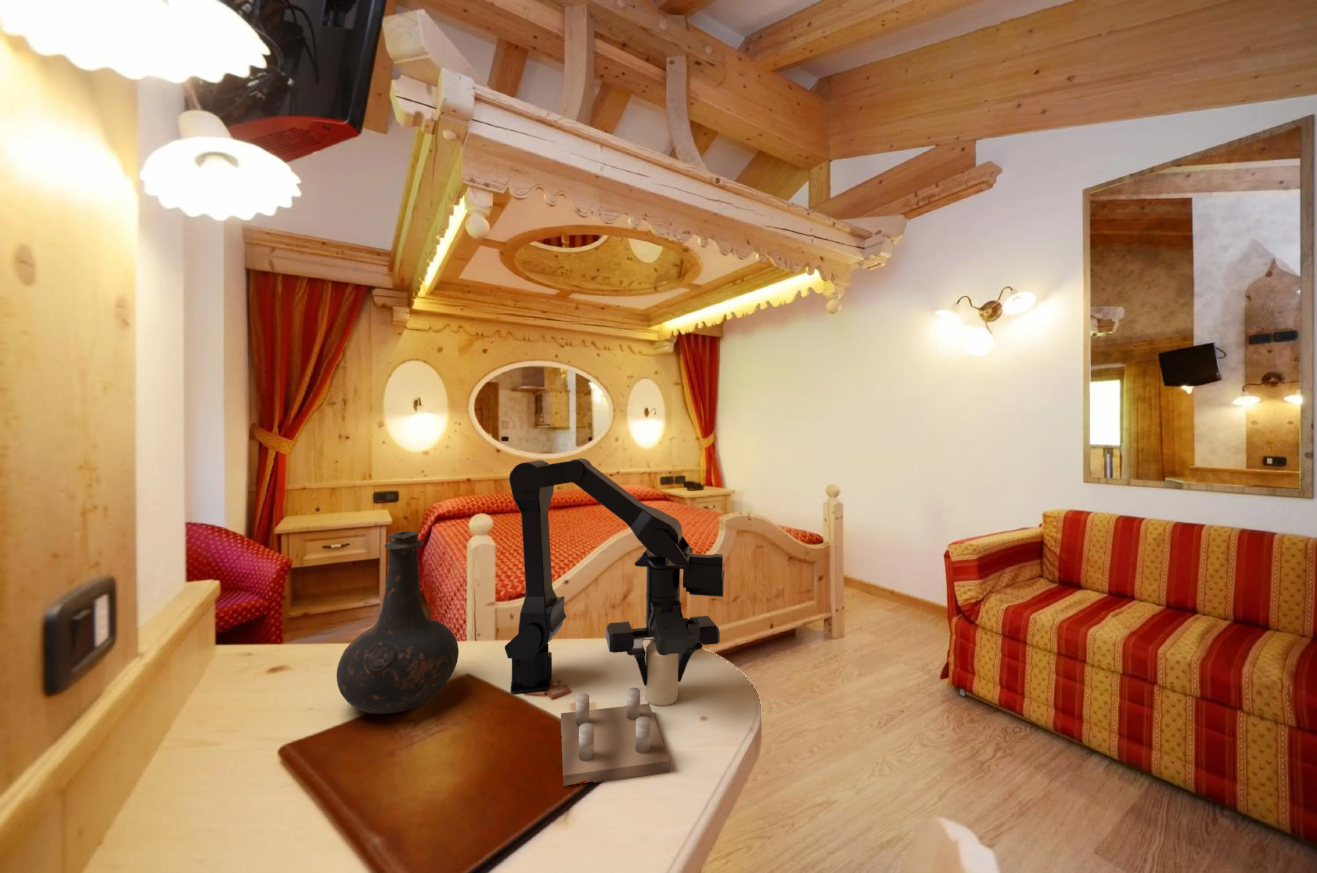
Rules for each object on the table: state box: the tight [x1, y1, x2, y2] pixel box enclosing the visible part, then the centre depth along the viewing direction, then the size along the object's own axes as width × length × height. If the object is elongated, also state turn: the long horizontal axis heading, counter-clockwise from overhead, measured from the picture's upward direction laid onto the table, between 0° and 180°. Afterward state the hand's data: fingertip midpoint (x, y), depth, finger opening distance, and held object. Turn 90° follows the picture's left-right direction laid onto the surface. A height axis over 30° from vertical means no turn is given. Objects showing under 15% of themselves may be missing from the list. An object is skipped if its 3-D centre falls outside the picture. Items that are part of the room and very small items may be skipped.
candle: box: [645, 639, 679, 707], centre depth 86 cm, size 6×6×10 cm
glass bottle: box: [336, 530, 460, 715], centre depth 84 cm, size 18×18×28 cm
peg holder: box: [560, 687, 671, 787], centre depth 73 cm, size 14×14×6 cm
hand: (661, 682), depth 86 cm, fingers closed on candle, 5 cm apart
